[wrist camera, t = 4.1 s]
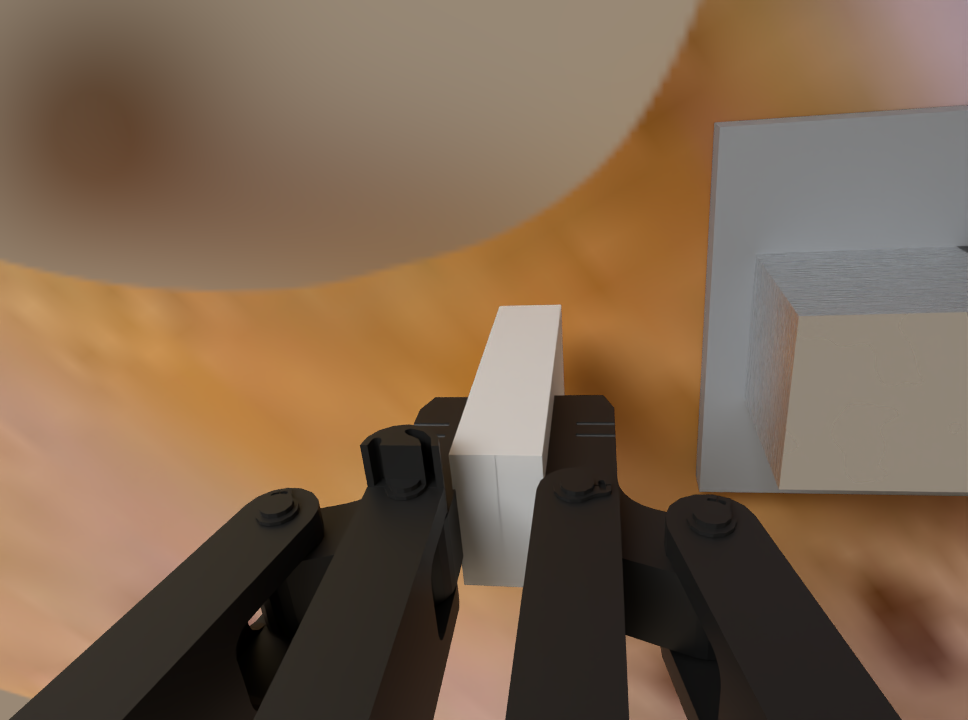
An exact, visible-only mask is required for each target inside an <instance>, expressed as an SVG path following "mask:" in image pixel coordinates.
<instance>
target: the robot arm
mask: <svg viewBox="0 0 968 720" xmlns="http://www.w3.org/2000/svg"><path fill="white" fill-rule="evenodd" d="M360 448H361V453H362V458H363V464H364V469H365V475H366V480H367V485H368V487H367V489H366V491H365V493H364V495H363V497H362V499H360V500H358V501H354V502H350V503H347V504H342V505H336V506H331V507H326V508H320V505H319V501H318V499H317V498H316V496H315V495H314V494H313V493H312V492H309V491H307V490H304V489H300V488H285V489H280V490H279V489H278V490H274V491H271V492H268V493H266V494H263V495H261V496H258V497H257V498H255V499H254V500H252V501H251V502H250V503H248V504H247V505H245V506H244V507H243V508H242V509H241V510H240V511H239V512H238V513H237V514H235V515H234V516H233V517H232V518H231V519H230V520H229V521H228V522H227V523H226V524H224V525H223V526H222V527H221V528H220V529H219V530H218V531H217V532H216V533H214V534H213V535H212V536H211V537H210V538H209V539H208V540H207V541H206V542H205V543H203V544H202V545H201V546H200V547H199V548H198V549H197V550H196V551H195V552H194V553H192V554H191V555H190V556H189V557H188V558H187V559H186V560H185V561H184V562H182V563H181V564H180V565H179V566H178V567H177V568H176V569H175V570H174V571H173V572H171V573H170V574H169V575H168V576H167V577H166V578H165V579H164V580H163V581H162V582H160V583H159V584H158V585H157V586H156V587H155V588H154V589H153V590H152V591H150V592H149V593H148V594H147V595H146V596H145V597H144V598H143V599H142V600H141V601H139V602H138V603H137V604H136V605H135V606H134V607H133V608H132V609H131V610H130V611H128V612H127V613H126V614H125V615H124V616H123V617H122V618H121V619H120V620H118V621H117V622H116V623H115V624H114V625H113V626H112V627H111V628H110V629H109V630H107V631H106V632H105V633H104V634H103V635H102V636H101V637H100V638H99V639H98V640H96V641H95V642H94V643H93V644H92V645H91V646H90V647H89V648H88V649H87V650H85V651H84V652H83V653H82V654H81V655H80V656H79V657H78V658H77V659H75V660H74V661H73V662H72V663H71V664H70V665H69V666H68V667H67V668H66V669H64V670H63V671H62V672H61V673H60V674H59V675H58V676H57V677H56V678H55V679H53V680H52V681H51V682H50V683H49V684H48V685H47V686H46V687H45V688H43V689H42V690H41V691H40V692H39V693H38V694H37V695H36V696H35V697H34V698H32V699H31V700H30V701H29V702H28V703H27V704H26V705H25V706H24V707H23V708H22V709H20V710H19V711H18V712H17V713H16V714H15V715H14V716H13V717H11V718H10V719H9V720H433V718H434V714H435V710H436V706H437V701H438V697H439V693H440V688H441V684H442V680H443V675H444V671H445V667H446V662H447V658H448V654H449V649H450V645H451V641H452V637H453V632H454V628H455V624H456V619H457V615H458V611H459V593H458V585H457V581H458V577H459V573H460V569H461V565H462V569H463V577H464V585H484V586H506V587H523V592H522V599H521V607H520V614H519V622H518V629H517V637H516V644H515V652H514V659H513V666H512V674H511V681H510V689H509V696H508V704H507V711H506V718H505V720H629V706H628V683H627V660H626V637H625V635H628V636H631V637H634V638H637V639H640V640H643V641H646V642H649V643H652V644H655V645H658V646H661V652H662V657H663V660H664V662H665V665H666V667H667V670H668V672H669V675H670V677H671V680H672V682H673V685H674V687H675V690H676V692H677V695H678V697H679V700H680V702H681V705H682V707H683V710H684V712H685V714H686V717H687V719H688V720H902V719H901V718H900V717H899V715H898V714H897V713H896V711H895V710H894V708H893V707H892V706H891V704H890V703H889V701H888V700H887V699H886V697H885V696H884V694H883V693H882V692H881V690H880V689H879V687H878V686H877V685H876V683H875V682H874V680H873V679H872V678H871V676H870V675H869V673H868V672H867V671H866V669H865V668H864V667H863V665H862V664H861V662H860V661H859V660H858V658H857V657H856V655H855V654H854V653H853V651H852V650H851V648H850V647H849V646H848V644H847V643H846V641H845V640H844V639H843V637H842V636H841V634H840V633H839V632H838V630H837V629H836V628H835V626H834V625H833V623H832V622H831V621H830V619H829V618H828V616H827V615H826V614H825V612H824V611H823V609H822V608H821V607H820V605H819V604H818V602H817V601H816V600H815V598H814V597H813V595H812V594H811V593H810V591H809V590H808V588H807V587H806V586H805V584H804V583H803V582H802V580H801V579H800V577H799V576H798V575H797V573H796V572H795V570H794V569H793V568H792V566H791V565H790V563H789V562H788V561H787V559H786V558H785V556H784V555H783V554H782V552H781V551H780V549H779V548H778V547H777V545H776V544H775V543H774V541H773V540H772V538H771V537H770V536H769V534H768V533H767V531H766V530H765V529H764V527H763V526H762V524H761V523H760V522H759V520H758V519H757V517H756V516H755V515H754V514H753V513H752V512H751V511H750V510H749V509H748V508H746V507H745V506H744V505H742V504H740V503H738V502H736V501H734V500H732V499H730V498H725V497H721V496H716V495H692V496H688V497H684V498H680V499H679V500H677V501H676V502H674V503H673V504H672V505H670V506H669V508H668V511H667V512H664V511H660V510H656V509H652V508H649V507H646V506H643V505H641V504H639V503H637V502H635V501H633V500H631V499H630V498H629V497H628V496H627V495H625V494H624V493H623V491H622V490H621V488H620V487H619V484H618V480H617V461H616V439H615V417H614V407H613V406H612V405H611V404H610V403H609V401H608V400H607V399H606V398H605V397H604V396H603V395H564V370H563V343H562V315H561V305H530V306H500V307H499V310H498V313H497V315H496V318H495V321H494V324H493V327H492V330H491V333H490V336H489V339H488V342H487V345H486V347H485V350H484V353H483V356H482V359H481V362H480V365H479V368H478V371H477V374H476V376H475V379H474V382H473V385H472V388H471V391H470V394H469V397H435V398H434V399H433V400H432V401H430V402H429V403H428V404H427V405H425V406H424V407H423V408H422V409H420V411H419V414H418V416H417V418H416V420H415V422H414V425H399V426H392V427H389V428H385V429H382V430H379V431H377V432H375V433H374V434H372V435H370V436H368V437H367V438H366V439H365V440H364V441H363V442H362V444H361V445H360ZM260 607H261V610H262V615H261V616H260V617H259V618H258V620H257V621H256V622H254V623H253V624H252V625H251V626H249V625H248V621H249V620H250V619H251V617H252V616H253V615H254V614H255V613H256V612H257V611H258V610H259V608H260Z"/></svg>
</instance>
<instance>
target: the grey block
mask: <svg viewBox="0 0 968 720" xmlns="http://www.w3.org/2000/svg"><path fill="white" fill-rule="evenodd" d="M744 402H745V404H746V407H747V409H748V412H749V414H750V417H751V419H752V422H753V425H754V427H755V430H756V432H757V435H758V437H759V440H760V442H761V445H762V447H763V450H764V453H765V455H766V458H767V460H768V463H769V465H770V468H771V470H772V473H773V475H774V478H775V481H776V483H777V486H778V488H779V489H780V490H845V491H910V492H968V246H950V247H924V248H898V249H872V250H846V251H820V252H795V253H769V254H756V258H755V270H754V282H753V294H752V306H751V318H750V330H749V342H748V354H747V366H746V378H745V390H744Z"/></svg>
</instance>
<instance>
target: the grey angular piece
mask: <svg viewBox="0 0 968 720" xmlns="http://www.w3.org/2000/svg"><path fill="white" fill-rule="evenodd" d="M950 246H968V105H961V106H947V107H933V108H918V109H904V110H889V111H875V112H861V113H846V114H832V115H818V116H803V117H789V118H774V119H760V120H746V121H731V122H717V123H714V141H713V160H712V179H711V198H710V217H709V236H708V255H707V274H706V293H705V312H704V331H703V350H702V369H701V388H700V407H699V426H698V444H697V463H696V478H697V483H698V487H699V492H754V493H815V494H877V495H939V496H968V492H910V491H845V490H780V489H779V488H778V486H777V483H776V481H775V478H774V475H773V473H772V470H771V468H770V465H769V463H768V460H767V458H766V455H765V453H764V450H763V447H762V445H761V442H760V440H759V437H758V435H757V432H756V430H755V427H754V425H753V422H752V419H751V417H750V414H749V412H748V409H747V407H746V404H745V402H744V390H745V378H746V366H747V354H748V342H749V330H750V318H751V306H752V294H753V282H754V270H755V258H756V254H769V253H795V252H820V251H846V250H872V249H898V248H924V247H950Z"/></svg>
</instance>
